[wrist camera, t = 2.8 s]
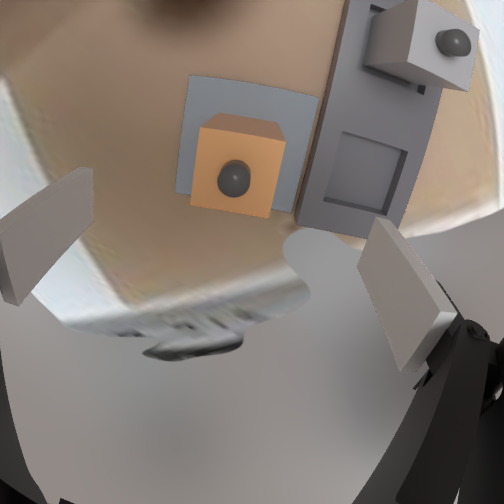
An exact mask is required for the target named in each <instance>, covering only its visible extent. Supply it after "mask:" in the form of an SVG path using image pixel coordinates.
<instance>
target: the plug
mask: <svg viewBox="0 0 504 504" xmlns="http://www.w3.org/2000/svg"><path fill="white" fill-rule="evenodd" d="M285 144H286V141H285V138H284V136H283V134H282V132H281V130H280V127H279V125H278V123H277V122H272V121H267V120H261V119H256V118H250V117H245V116H239V115H232V114H226V113H218V114H216V115H215V116H214V117H212V118H211V119H210V120H209V121H207V122H206V123H205V124H203V125H202V126H201V127H200V131H199V138H198V145H197V152H196V160H195V167H194V175H193V184H192V192H191V201H190V205H191V206H197V207H204V208H210V209H216V210H222V211H228V212H233V213H239V214H245V215H251V216H256V217H262V218H267V219H269V215H270V210H271V206H272V202H273V197H274V193H275V188H276V184H277V180H278V175H279V171H280V166H281V162H282V158H283V153H284V149H285Z"/></svg>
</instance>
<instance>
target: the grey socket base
mask: <svg viewBox="0 0 504 504" xmlns="http://www.w3.org/2000/svg"><path fill="white" fill-rule="evenodd" d="M479 31H480V30H479V29H477V28H476V27H474V26H472V25H471V24H469V23H468V22H466V21H465V20H463V19H461V18H460V17H458V16H456V15H455V14H453V13H451V12H449V11H448V10H446V9H444V8H442V7H441V6H439V5H437V4H435V3H433V2H431V1H429V0H345V3H344V8H343V13H342V17H341V22H340V27H339V32H338V36H337V41H336V46H335V50H334V55H333V59H332V64H331V68H330V73H329V77H328V82H327V86H326V90H325V95H324V99H323V103H322V107H321V112H320V116H319V120H318V124H317V128H316V132H315V137H314V141H313V145H312V149H311V153H310V157H309V161H308V165H307V169H306V173H305V176H304V180H303V184H302V188H301V192H300V196H299V200H298V203H297V207H296V211H295V215H294V217H295V221H296V225H299V226H304V227H310V228H315V229H320V230H325V231H330V232H335V233H340V234H345V235H350V236H355V237H360V238H364V239H368V237H369V234H370V231H371V229H372V226H373V223H374V221H375V218H376V217H379V218H384V219H388V220H390V221H391V222H392V223H393V225H394V226H395V227H396V228H397V230H398V227H399V225H400V222H401V220H402V217H403V215H404V212H405V209H406V207H407V204H408V201H409V199H410V196H411V193H412V190H413V188H414V185H415V182H416V179H417V176H418V173H419V170H420V167H421V164H422V161H423V158H424V154H425V151H426V148H427V145H428V141H429V138H430V135H431V131H432V128H433V124H434V120H435V117H436V113H437V109H438V105H439V101H440V97H441V93H442V89H443V88H447V89H453V90H459V91H465V92H469V88H470V84H471V79H472V74H473V69H474V63H475V57H476V51H477V45H478V38H479Z"/></svg>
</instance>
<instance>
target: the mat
mask: <svg viewBox="0 0 504 504" xmlns="http://www.w3.org/2000/svg"><path fill="white" fill-rule="evenodd" d="M318 101H319V97H315V96H311V95H307V94H302V93H298V92H294V91H289V90H285V89H280V88H275V87H270V86H265V85H259V84H254V83H248V82H242V81H235V80H228V79H221V78H213V77H205V76H196V75H190V77H189V83H188V90H187V96H186V103H185V109H184V116H183V124H182V131H181V139H180V147H179V156H178V165H177V174H176V184H175V193H179V194H186V195H191V192H192V184H193V175H194V167H195V160H196V152H197V145H198V138H199V131H200V127H201V126H202V125H203V124H205V123H206V122H207V121H209V120H210V119H211V118H212V117H214V116H215V115H216V114H218V113H226V114H232V115H239V116H245V117H250V118H256V119H261V120H267V121H272V122H277V123H278V125H279V127H280V130H281V132H282V134H283V136H284V138H285V141H286V144H285V149H284V153H283V158H282V162H281V166H280V171H279V175H278V180H277V184H276V188H275V193H274V197H273V202H272V206H271V209H274V210H279V211H284V212H290V213H291V211H292V207H293V203H294V199H295V195H296V191H297V187H298V183H299V179H300V175H301V171H302V167H303V163H304V159H305V155H306V151H307V147H308V143H309V139H310V135H311V131H312V126H313V122H314V118H315V114H316V110H317V105H318Z"/></svg>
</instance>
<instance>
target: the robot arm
mask: <svg viewBox="0 0 504 504" xmlns="http://www.w3.org/2000/svg"><path fill="white" fill-rule="evenodd" d="M93 222H94V205H93V168H90V167H78V168H76V169H74V170H73V171H71V172H69V173H68V174H66V175H65V176H63V177H61V178H60V179H58V180H56V181H55V182H53V183H52V184H50V185H49V186H47V187H46V188H44V189H43V190H41V191H40V192H38V193H37V194H35V195H34V196H32V197H31V198H29V199H28V200H26V201H25V202H23V203H22V204H21V205H19V206H18V207H16V208H15V209H14V210H12V211H11V212H10V213H8V214H7V215H6V216H4V217H3V218H2V219H0V290H1V294H2V297H3V299H4V301H5V302H7V303H10V304H13V305H16V306H19V305H20V304H21V303H22V302H23V300H24V299H25V298H26V297H27V295H28V294H29V293H30V292H31V291H32V289H33V288H34V287H35V286H36V285H37V283H38V282H39V281H40V280H41V279H42V277H43V276H44V275H45V274H46V273H47V272H48V270H49V269H50V268H51V267H52V266H53V265H54V264H55V262H56V261H57V260H58V259H59V258H60V257H61V256H62V255H63V254H64V252H65V251H66V250H67V249H68V248H69V247H70V246H71V245H72V244H73V243H74V242H75V241H76V240H77V239H78V238H79V236H80V235H81V234H82V233H83V232H84V231H85V230H86V229H87V228H88V227H89V226H90V225H91V224H92V223H93ZM357 268H358V270H359V272H360V275H361V277H362V279H363V282H364V284H365V286H366V288H367V291H368V293H369V295H370V298H371V300H372V302H373V305H374V307H375V309H376V312H377V314H378V317H379V319H380V322H381V324H382V326H383V329H384V332H385V334H386V336H387V339H388V341H389V345H390V347H391V350H392V352H393V355H394V358H395V360H396V363H397V366H398V369H399V371H400V372H417V371H418V369H419V368H420V367H421V366H422V364H423V363H424V362H425V360H426V362H427V364H428V366H429V369H428V371H427V372H426V373H425V374H424V376H423V377H422V378H421V379H420V381H419V382H418V383H417V384H416V385H415V387H414V388H413V389H414V390H416V389H417V388H418V389H417V392H416V394H415V396H414V398H413V400H412V403H411V405H410V407H409V409H408V411H407V413H406V415H405V417H404V419H403V421H402V423H401V425H400V427H399V428H398V430H397V432H396V434H395V436H394V438H393V440H392V441H391V443H390V445H389V447H388V449H387V450H386V452H385V454H384V455H383V457H382V459H381V461H380V462H379V464H378V465H377V467H376V469H375V470H374V472H373V473H372V475H371V477H370V478H369V480H368V481H367V483H366V484H365V486H364V487H363V489H362V490H361V492H360V493H359V495H358V496H357V497H356V499H355V500H354V502H353V503H352V504H453V503H454V501H455V498H456V496H457V493H458V490H459V496H458V503H457V504H504V338H503V339H502V341H501V342H500V344H497V343H494V342H491V341H490V337H489V335H488V333H487V331H486V330H485V329H484V328H483V327H482V326H480V325H479V324H478V323H476V322H474V321H472V320H464V318H463V317H462V315H461V314H460V312H459V310H458V309H457V307H456V306H455V305H454V303H453V301H451V298H450V297H449V296H448V294H446V291H445V290H444V288H443V287H442V285H441V284H440V283H439V282H438V281H437V280H436V279H434V277H433V276H432V275H431V273H430V272H429V270H428V269H427V268H426V266H425V265H424V263H423V262H422V261H421V259H420V258H419V257H418V256H417V254H416V253H415V251H414V250H413V249H412V248H411V246H410V245H409V244H408V242H407V241H406V240H405V238H404V237H403V236H402V235H401V233H400V232H399V231H398V230H397V228H396V227H395V226H394V225H393V223H392V222H391V221H390V220H388V219H384V218H379V217H376V218H375V221H374V223H373V226H372V229H371V231H370V234H369V237H368V239H367V242H366V245H365V247H364V250H363V252H362V255H361V257H360V260H359V262H358V265H357ZM502 387H503V390H502V393H501V395H500V397H499V398H498V399H497V400H496V399H495V394H496V393H497V392H498V391H499V390H500V389H501V388H502ZM459 488H460V489H459ZM0 504H47V502H46V500H45V498H44V496H43V494H42V492H41V490H40V489H39V487H38V485H37V484H36V483H35V481H34V480H33V478H32V477H31V475H30V473H29V471H28V468H27V466H26V463H25V460H24V457H23V454H22V450H21V447H20V444H19V440H18V437H17V433H16V430H15V426H14V423H13V418H12V414H11V409H10V405H9V401H8V395H7V390H6V385H5V379H4V373H3V366H2V359H1V351H0ZM59 504H74V503H71V502H69V501H66V500H64V499H62V498H60V502H59Z"/></svg>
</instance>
